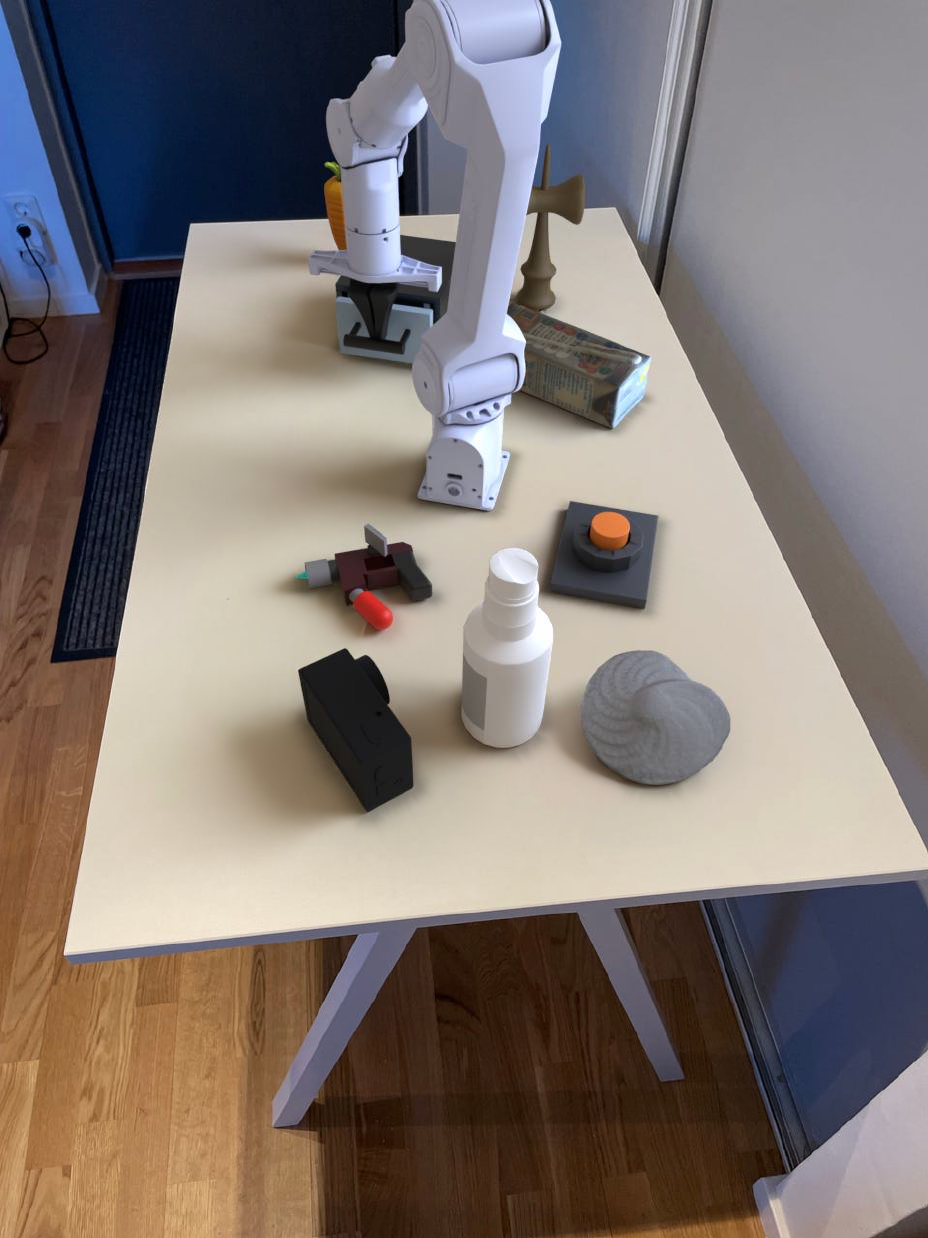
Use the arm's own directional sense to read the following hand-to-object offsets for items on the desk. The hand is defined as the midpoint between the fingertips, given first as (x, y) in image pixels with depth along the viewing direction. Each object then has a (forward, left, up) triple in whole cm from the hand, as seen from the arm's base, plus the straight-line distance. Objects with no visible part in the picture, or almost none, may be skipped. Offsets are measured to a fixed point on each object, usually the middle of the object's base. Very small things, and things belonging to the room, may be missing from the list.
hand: (379, 337), depth 106 cm
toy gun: (-35, -9, -5) cm, 37 cm away
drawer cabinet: (+11, 0, -5) cm, 12 cm away
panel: (-24, -30, -5) cm, 39 cm away
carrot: (+25, +12, -5) cm, 28 cm away
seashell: (-44, -36, -5) cm, 57 cm away
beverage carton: (+3, -21, -5) cm, 22 cm away
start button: (-24, -30, -2) cm, 39 cm away
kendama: (+21, -15, -5) cm, 26 cm away
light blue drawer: (+6, 0, -4) cm, 7 cm away
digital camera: (-51, -14, -5) cm, 53 cm away
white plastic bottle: (-45, -24, -5) cm, 51 cm away
